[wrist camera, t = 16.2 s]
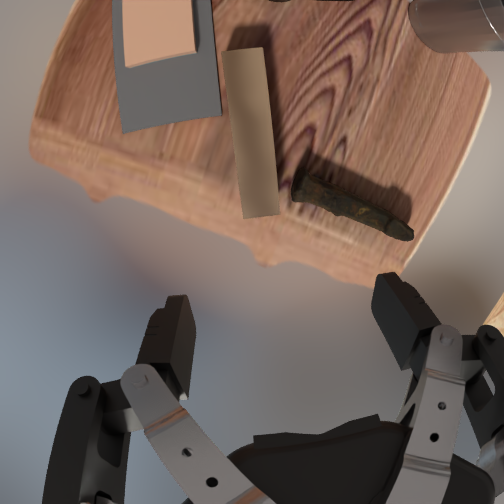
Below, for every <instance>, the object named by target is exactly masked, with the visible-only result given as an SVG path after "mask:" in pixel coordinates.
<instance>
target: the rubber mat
mask: <svg viewBox="0 0 504 504" xmlns="http://www.w3.org/2000/svg"><path fill="white" fill-rule="evenodd" d="M193 11H194V23H195V35H196V46H197V53H196V54H190V55H184V56H179V57H174V58H169V59H165V60H160V61H156V62H152V63H148V64H144V65H140V66H137V67H133V68H128V67H125V56H124V40H123V13H122V0H112V27H113V50H114V64H115V76H116V86H117V95H118V103H119V110H120V118H121V124H122V131H123V134H124V133H128V132H132V131H136V130H141V129H145V128H150V127H154V126H159V125H164V124H169V123H175V122H180V121H186V120H192V119H199V118H206V117H213V116H221V115H222V112H221V103H220V93H219V83H218V74H217V64H216V54H215V43H214V33H213V22H212V11H211V0H193Z"/></svg>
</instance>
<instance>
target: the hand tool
mask: <svg viewBox="0 0 504 504" xmlns="http://www.w3.org/2000/svg"><path fill="white" fill-rule="evenodd" d="M291 197H292V201H293V202H308V203H311V204H314V205H316V206H319V207H322V208H324V209H326V210H327V211H329V212H332V213H333V214H334V215H335V216H345V217H348V218H350V219H353V220H355V221H357V222H361V223H363V224H365V225H368V226H370V227H373V228H375V229H377V230H379V231H382V232H383V233H385V234H386V235H388V236H390V237H393V238H395V239H398V240H402V241H411V240H413V238H414V230H413V229H412V228H410V227H409V226H408V225H407V224H405V223H404V222H403V221H401V220H399V219H398V218H397V217H395V216H394V215H393V214H391V213H390V212H388V211H387V210H385V209H382V208H380V207H378V206H376V205H374V204H372V203H371V202H369V201H367V200H365V199H363V198H361V197H359V196H357V195H354V194H352V193H350V192H348V191H346V190H345V189H342V188H341V187H339V186H337V185H335V184H332V183H329V182H327V181H323V180H321V179H319V178H317V177H315V176H313V175H310V174H309V172H308V171H307V169H305V168H304V167H302V168H301V170H299V172H298V174H297V176H296V178H295V180H294V182H293V185H292V189H291Z"/></svg>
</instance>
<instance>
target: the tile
mask: <svg viewBox="0 0 504 504" xmlns="http://www.w3.org/2000/svg"><path fill="white" fill-rule="evenodd" d="M122 13H123V40H124V56H125V67H128V68H133V67H137V66H140V65H144V64H148V63H152V62H156V61H160V60H165V59H169V58H174V57H179V56H184V55H190V54H196V53H197V46H196V35H195V23H194V11H193V0H122Z"/></svg>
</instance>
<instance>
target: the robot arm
mask: <svg viewBox="0 0 504 504" xmlns="http://www.w3.org/2000/svg"><path fill="white" fill-rule="evenodd" d="M409 18H410V22H411V24H412V27H413V29H414V31H415V32H416V34H417V35H418V37H419V38H420V39H421V40H422V41H423V42H424V43H425V44H426V45H427V46H428V47H429V48H431V49H432V50H434V51H436V52H439V53H457V52H475V51H504V0H413V1H412V2H411V4H410V6H409ZM371 309H372V313H373V316H374V318H375V320H376V322H377V323H378V325H379V327H380V329H381V331H382V333H383V335H384V337H385V339H386V341H387V342H388V344H389V346H390V349H391V350H392V352H393V354H394V357H395V358H396V361H397V363H398V365H399V367H400V369H401V371H402V370H406V369H409V368H411V369H412V371H413V373H412V374H411V377H410V380H409V384H408V387H407V391H406V394H405V397H404V400H403V403H402V406H401V409H400V412H399V414H398V416H397V418H396V420H395V422H390V421H380V418H379V416H378V414H375V415H372V416H368V417H364V418H360V419H356V420H352V421H349V422H347V423H345V424H343V425H341V426H338V427H336V428H334V429H332V430H330V431H327V432H325V433H323V434H319V435H316V434H299V433H287V432H285V433H277V434H266V435H255V436H253V438H254V443H251V444H248V445H246V446H243V447H241V448H239V449H237V450H235V451H234V452H232V453H231V454H229V455H228V456H227V457H226V456H225V455H224V454H223V453H222V452H221V451H220V450H219V448H218V447H217V446H216V445H215V444H214V443H213V442H212V441H211V439H210V438H209V437H208V436H207V435H206V434H205V432H203V430H202V429H201V428H200V426H199V425H198V424H197V423H196V422H195V420H194V419H193V418H192V417H191V416H190V414H189V413H188V412H187V410H186V409H184V408H183V407H182V406H181V405H180V403H179V400H188V397H189V388H190V379H191V370H192V363H193V355H194V347H195V339H196V326H195V321H194V317H193V314H192V310H191V307H190V303H189V300H188V297H187V295H173V296H168V298H167V301H166V304H165V308H160V309H157V310H156V311H155V312H154V313H153V315H152V316H151V317H150V320H149V323H148V326H147V329H146V332H145V336H144V338H143V341H142V345H141V348H140V351H139V354H138V358H137V361H136V364H135V365H134V366H132V367H130V368H128V369H127V370H126V371H125V372H124V373H123V375H122V377H121V379H119V380H115V381H111V382H106V383H102V384H100V383H99V381H98V380H97V379H96V378H94V377H92V376H83V377H80V378H78V379H77V380H75V381H74V382H73V383H72V385H71V386H70V388H69V391H68V394H67V397H66V400H65V404H64V407H63V410H62V414H61V417H60V420H59V424H58V427H57V431H56V435H55V439H54V443H53V447H52V451H51V455H50V460H49V464H48V469H47V474H46V480H45V486H44V493H43V499H42V504H124V496H125V482H126V471H127V461H128V452H129V444H130V436H131V432H132V431H137V430H142V429H144V433H145V436H146V437H147V439H148V441H149V442H150V444H151V445H152V447H153V449H154V450H155V451H156V453H157V455H158V456H159V458H160V459H161V461H162V462H163V464H164V465H165V467H166V468H167V469H168V471H169V472H170V474H171V475H172V476H173V477H174V479H175V480H176V482H177V483H178V484H179V486H180V487H181V488H182V489H183V491H184V492H185V493H186V495H188V498H187V499H186V500H185V501H184V502H183V503H182V504H494V500H495V497H497V496H498V495H499V494H501V493H502V492H504V337H503V335H502V334H501V333H500V331H499V330H498V329H497V328H495V327H493V326H491V325H482V326H481V327H479V329H478V331H477V333H476V335H461V334H460V332H459V331H458V330H457V329H456V328H454V327H452V326H450V325H444V324H441V323H440V321H439V320H438V318H437V317H436V316H435V314H434V313H433V312H432V310H431V309H430V307H429V306H428V305H427V304H426V303H425V301H424V299H423V298H422V297H420V294H419V293H418V292H417V290H416V289H415V288H414V287H412V286H411V285H410V284H408V283H407V282H402V280H401V279H400V278H399V276H398V275H397V274H396V273H395V272H389V273H383V274H378V275H377V277H376V282H375V287H374V292H373V297H372V303H371ZM486 370H487V372H488V374H489V376H490V377H491V379H492V381H493V383H494V385H495V394H494V396H493V394H492V392H491V390H490V388H489V386H488V384H487V382H486V380H485V378H484V376H483V374H484V372H485V371H486ZM462 405H463V406H464V408H465V410H466V413H467V415H468V417H469V420H470V422H471V425H472V427H473V430H474V433H475V435H476V438H477V441H478V443H479V446H480V449H481V450H480V453H479V459H478V460H477V461H476V465H474V464H472V463H470V462H468V461H466V460H464V459H462V458H461V457H459V456H457V455H455V454H453V450H454V446H455V442H456V438H457V433H458V428H459V423H460V418H461V412H462Z"/></svg>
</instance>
